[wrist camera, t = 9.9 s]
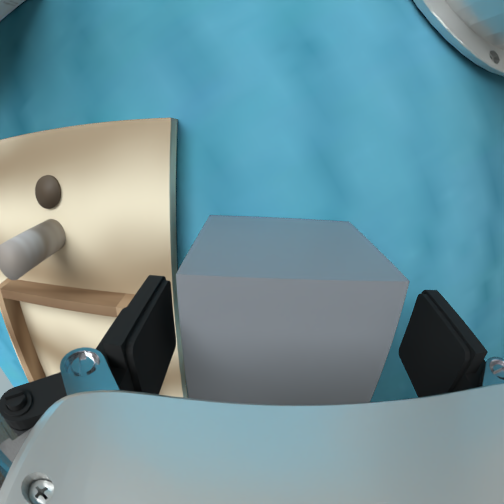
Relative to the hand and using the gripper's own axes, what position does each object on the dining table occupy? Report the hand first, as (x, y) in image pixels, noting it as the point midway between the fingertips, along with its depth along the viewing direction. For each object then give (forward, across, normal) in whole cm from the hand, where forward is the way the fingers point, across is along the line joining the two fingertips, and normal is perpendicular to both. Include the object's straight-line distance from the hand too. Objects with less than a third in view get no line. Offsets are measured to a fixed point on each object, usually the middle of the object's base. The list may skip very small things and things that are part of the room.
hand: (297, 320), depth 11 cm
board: (+5, +13, +7) cm, 15 cm away
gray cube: (+6, 0, +1) cm, 6 cm away
